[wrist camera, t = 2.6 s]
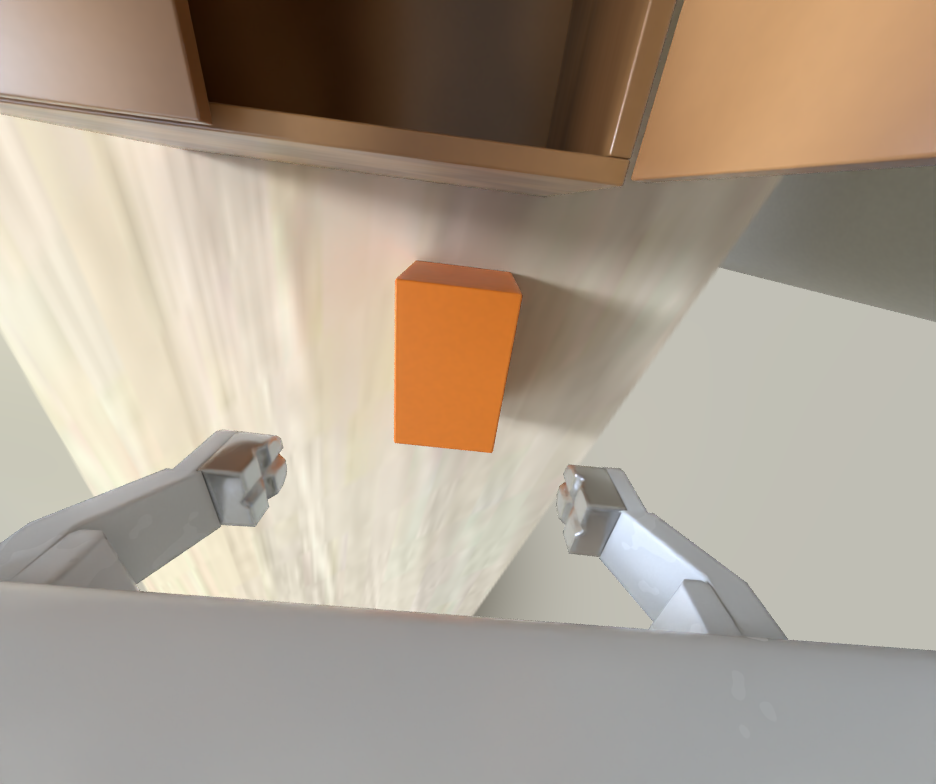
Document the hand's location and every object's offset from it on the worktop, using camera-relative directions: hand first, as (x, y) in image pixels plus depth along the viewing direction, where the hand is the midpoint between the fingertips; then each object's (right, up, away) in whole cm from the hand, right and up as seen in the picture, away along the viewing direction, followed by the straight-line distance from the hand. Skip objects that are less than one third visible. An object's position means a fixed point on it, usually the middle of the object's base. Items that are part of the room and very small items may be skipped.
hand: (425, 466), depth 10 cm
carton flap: (+6, +10, -10) cm, 15 cm away
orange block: (+1, +5, +10) cm, 11 cm away
